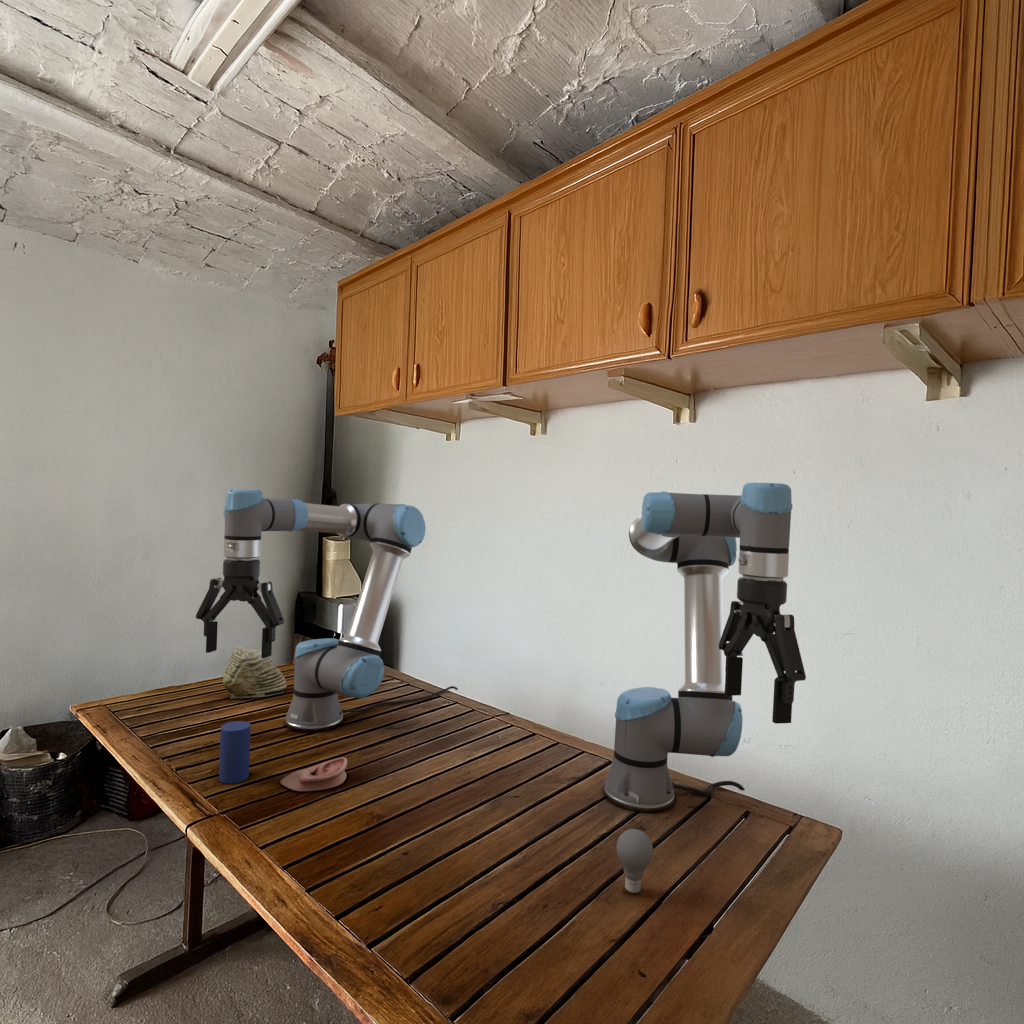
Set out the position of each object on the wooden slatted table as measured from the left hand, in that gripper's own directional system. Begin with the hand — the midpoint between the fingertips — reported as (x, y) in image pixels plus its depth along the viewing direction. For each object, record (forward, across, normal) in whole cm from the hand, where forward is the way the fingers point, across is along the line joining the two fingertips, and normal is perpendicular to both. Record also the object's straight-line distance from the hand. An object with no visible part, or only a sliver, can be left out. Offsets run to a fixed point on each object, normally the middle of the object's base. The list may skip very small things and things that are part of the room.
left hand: (238, 654), depth 140 cm
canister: (+28, 0, 0) cm, 28 cm away
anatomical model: (+28, +18, +3) cm, 33 cm away
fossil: (+28, -29, +52) cm, 66 cm away
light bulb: (+28, +87, -19) cm, 94 cm away
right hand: (-5, +106, -18) cm, 107 cm away
